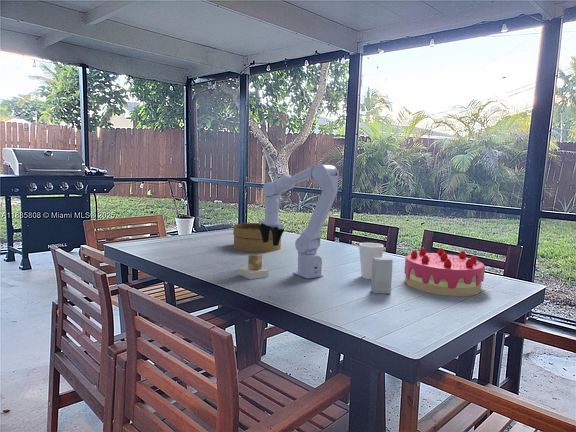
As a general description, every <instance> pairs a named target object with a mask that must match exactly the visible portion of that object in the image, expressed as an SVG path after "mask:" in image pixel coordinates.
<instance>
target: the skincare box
mask: <svg viewBox="0 0 576 432" xmlns="http://www.w3.org/2000/svg"><path fill="white" fill-rule="evenodd" d="M393 264H394V263H393V259H392V258H390V257H382V258H377V257H373V260H372V279H371V285H370V290H371V292H372V293H373V294H375V295H377V294H378V295H379V294H381V295H382V294H391V292H392V282H393V281H392V278H393Z"/></svg>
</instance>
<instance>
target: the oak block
mask: <svg viewBox="0 0 576 432" xmlns="http://www.w3.org/2000/svg"><path fill="white" fill-rule="evenodd" d="M247 259H248V262H247V267H248V269H250V270H260V269H261V268H263V266H262V265H263V264H262V263H263V253H255V252H251V253H250V254H248V258H247Z"/></svg>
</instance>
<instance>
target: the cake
mask: <svg viewBox="0 0 576 432" xmlns="http://www.w3.org/2000/svg"><path fill="white" fill-rule="evenodd" d="M404 259H405V261H404V274H405V279H404V282H405V283H406V285H408V286H409V287H411V288H413V289H414V288H415V289H416V290H419V291H423V292H427V293H431V294H437V295H445V296H454V297H455V296H457V297H458V296H459V297H461V296H462V297H464V296H466V297H467V296H475V295H478V294H479V293H480V292H481V291H482V282H484V280H485V279H484V278H485V264H484V263H483V262H481V261H480V260H478V258H477V256H476V255H475V254H474V255H473V254H472V255H471V256H470V257H467V254H466V251H465V250H461V251H460V252H459V254H458V255H456V254H448V253H446V252H445V249H444V248H443V247H440V248H439V249H438V251H437V253H436V252H427V251H426V248H425V247H421V248H420V249H419V252H417V250H415V249H413V250H412V251H411V253H410V254H407V255H406V256H405V258H404Z"/></svg>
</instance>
